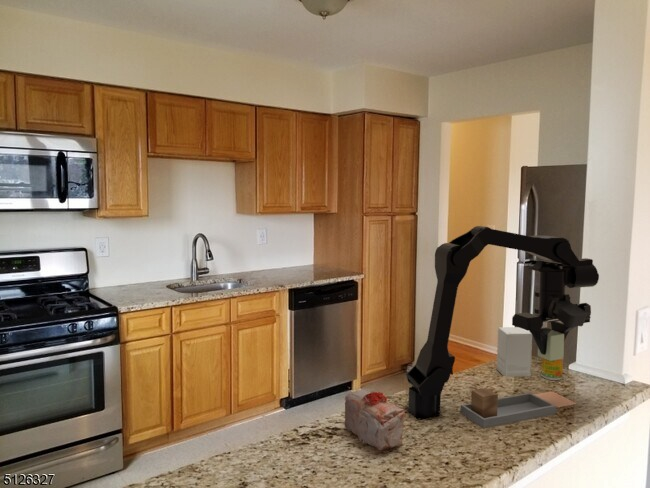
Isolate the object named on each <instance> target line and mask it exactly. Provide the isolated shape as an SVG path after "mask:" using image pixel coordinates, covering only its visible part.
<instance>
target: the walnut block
mask: <svg viewBox="0 0 650 488" xmlns="http://www.w3.org/2000/svg"><path fill="white" fill-rule="evenodd" d="M470 395H471V399H470V400H471V402H470V403H471V410H472V411H474V412H475V413H477V414H478V415H480V416H482V417H483V418H488V417H493V416H497V407H498V398H499V394H498V393H497V392H495V391H493V390H490V388H488V387H484V388H483V387H482V388H477V389H471V394H470Z"/></svg>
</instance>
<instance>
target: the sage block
mask: <svg viewBox="0 0 650 488" xmlns="http://www.w3.org/2000/svg"><path fill="white" fill-rule="evenodd" d="M564 349H565V341H564V334H563V333H560V332H557V331H554V330H551V331H550V332H549V333H548V335H547V349H546V354H545V355H543V354H541V352H540V350H539V348H538V347H537V356H538V357H540V358H541V359H542V358H544V359H547V360H549V361H553V360H558V359H563V360H564V358H565V357H564V355H565V350H564Z"/></svg>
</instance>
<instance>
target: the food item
mask: <svg viewBox="0 0 650 488" xmlns="http://www.w3.org/2000/svg"><path fill="white" fill-rule="evenodd" d="M344 400H345V402H344V429H345V430H348V431H350V432H352V433H353V435H356V436H357V437H358V440H359V441H360V443H363V444H368V445H369V446H371V447H375V448H377V450H378V451H385V450H388V449H393V448H395V447H396V448H397V447H400V446H402V445H403V434H404V427H405V424H404V423H405V416H406V413H405V411H406V410H405V408H404V409H403V408H400V407H399V406H397V405H395V404H393V403H391V402H389V401H388V397H387V396H386V395H384V393H383V392H380V391H378V392H377V391H371V392H370V390H369V391H368V390H367V389H358V390H355V391H353V392H350V393H348V394H346V395H345V397H344Z"/></svg>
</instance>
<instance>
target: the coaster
mask: <svg viewBox="0 0 650 488" xmlns="http://www.w3.org/2000/svg"><path fill="white" fill-rule="evenodd" d="M533 394H534V393H533ZM534 395H536V396H538V397H540V398H542V399H544V400H546V401H548V402H550V403H552V404H554V405H556V409H557V408H562V407H567V406H573V405H577V404H578V403H577V402H575V401H573V400H570V398H566V397H565V396H562V395H560V394H558V393H556V392H554V391H545V392H541V393H535V394H534Z"/></svg>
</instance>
